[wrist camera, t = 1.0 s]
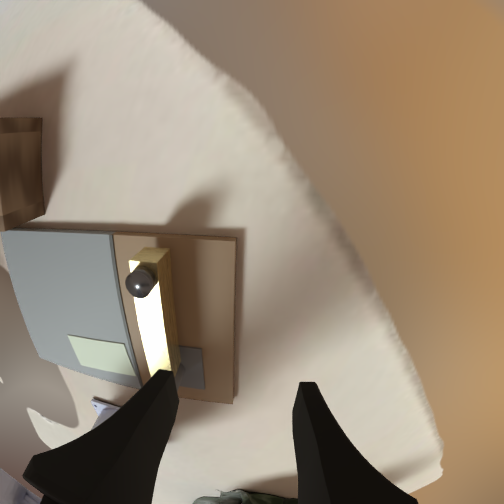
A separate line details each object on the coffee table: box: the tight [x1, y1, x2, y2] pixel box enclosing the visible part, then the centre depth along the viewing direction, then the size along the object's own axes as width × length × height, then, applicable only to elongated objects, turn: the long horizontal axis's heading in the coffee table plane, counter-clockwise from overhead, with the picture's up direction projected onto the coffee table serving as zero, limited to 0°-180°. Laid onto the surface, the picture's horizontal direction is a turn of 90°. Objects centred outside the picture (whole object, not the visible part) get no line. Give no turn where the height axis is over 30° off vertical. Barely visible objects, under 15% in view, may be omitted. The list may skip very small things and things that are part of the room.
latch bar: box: [125, 247, 181, 378], centre depth 17 cm, size 10×2×3 cm, turn 177°
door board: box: [1, 228, 237, 404], centre depth 19 cm, size 16×24×4 cm, turn 87°
